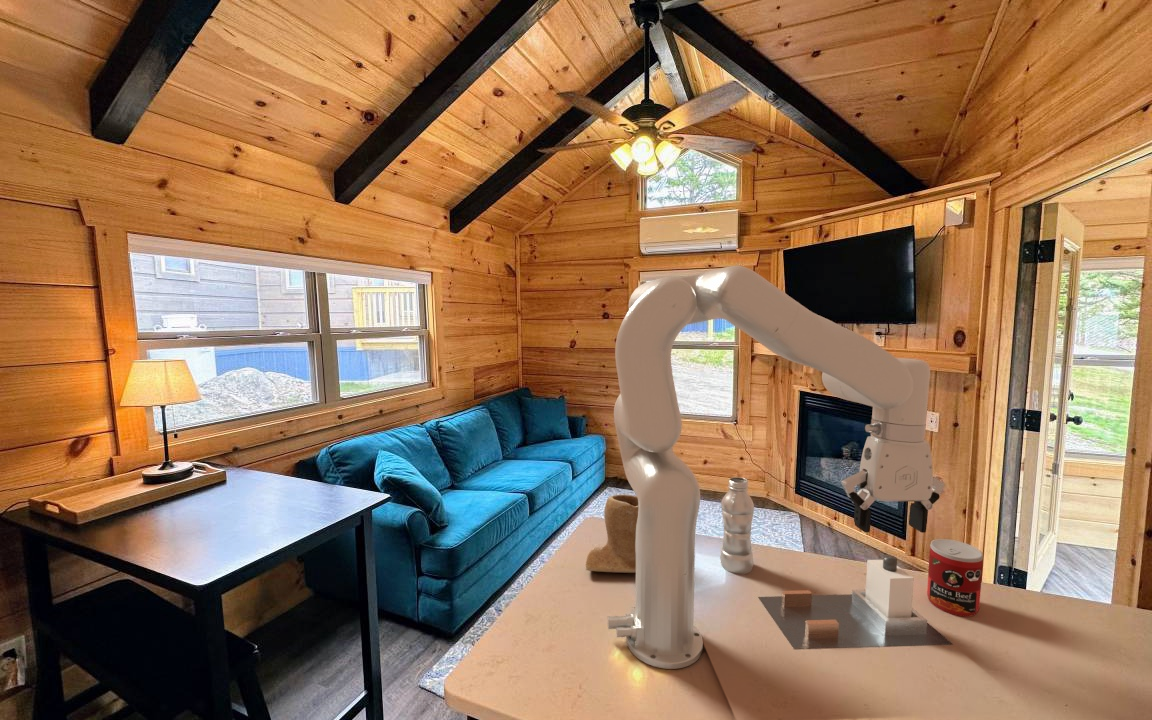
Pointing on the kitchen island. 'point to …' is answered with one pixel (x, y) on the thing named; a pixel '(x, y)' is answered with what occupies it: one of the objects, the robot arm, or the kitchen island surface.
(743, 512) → the plastic bottle
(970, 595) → the canned food
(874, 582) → the plug
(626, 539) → the tan suede boot
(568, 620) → the kitchen island surface
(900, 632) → the panel
